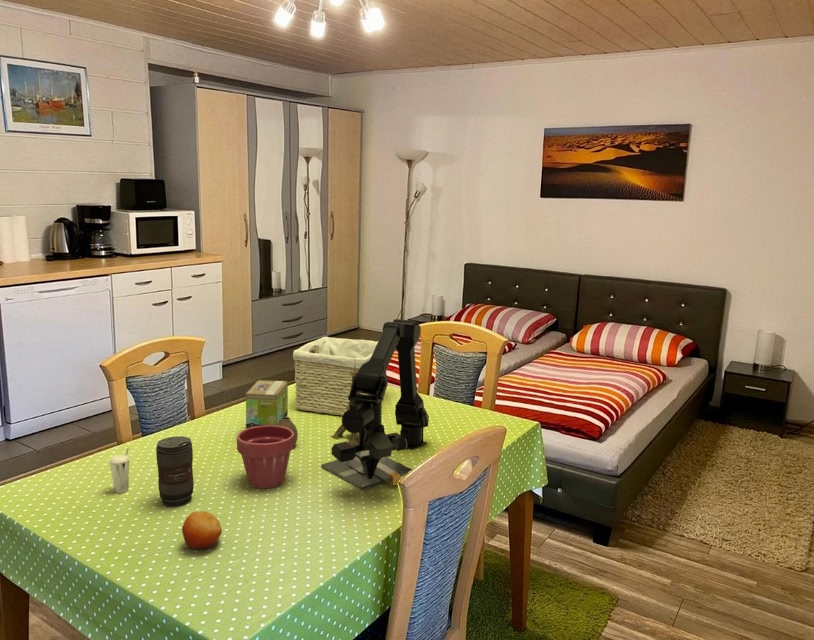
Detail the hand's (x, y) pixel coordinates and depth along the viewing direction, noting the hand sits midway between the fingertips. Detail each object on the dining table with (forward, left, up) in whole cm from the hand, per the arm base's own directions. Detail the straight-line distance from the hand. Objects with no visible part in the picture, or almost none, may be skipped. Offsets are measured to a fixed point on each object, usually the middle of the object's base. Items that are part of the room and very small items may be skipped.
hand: (369, 478), depth 165 cm
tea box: (0, -51, -3) cm, 51 cm away
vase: (+2, -37, -3) cm, 37 cm away
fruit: (+44, -1, -3) cm, 44 cm away
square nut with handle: (-5, -4, -1) cm, 7 cm away
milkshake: (+48, -38, -2) cm, 61 cm away
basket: (-34, -58, -3) cm, 67 cm away
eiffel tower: (-18, -30, -3) cm, 35 cm away
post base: (-6, -9, -2) cm, 11 cm away
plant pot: (+18, -20, -2) cm, 27 cm away
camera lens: (+40, -24, -2) cm, 47 cm away
